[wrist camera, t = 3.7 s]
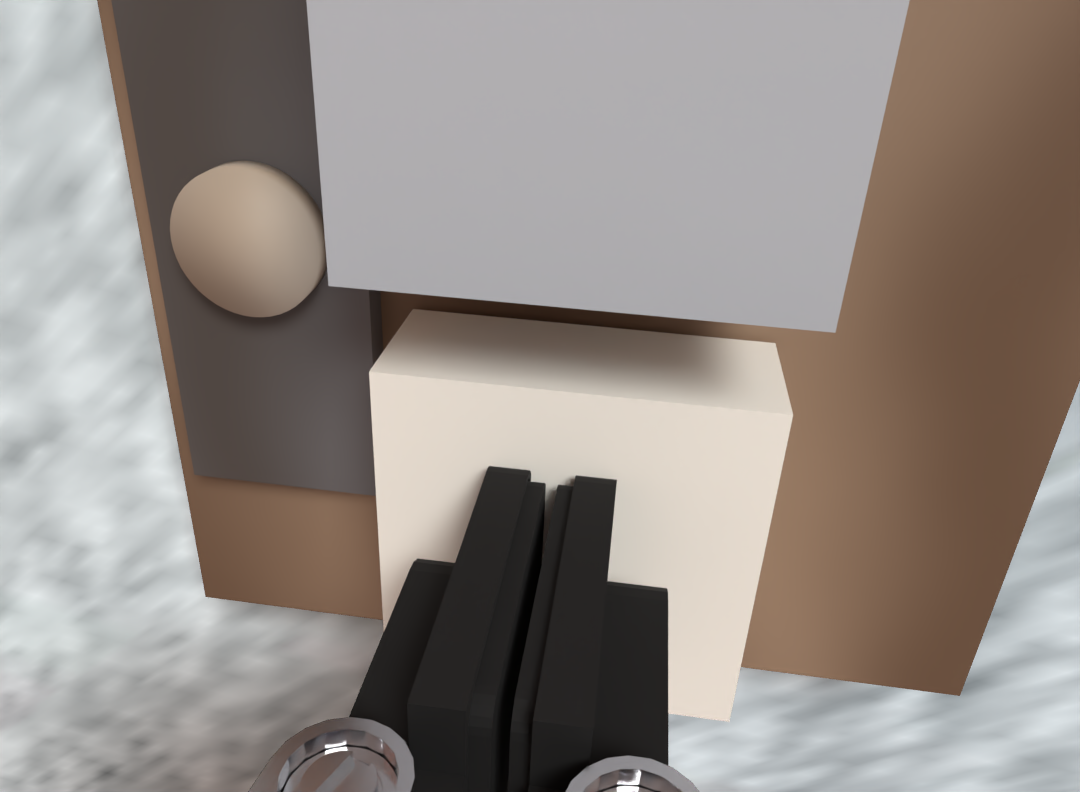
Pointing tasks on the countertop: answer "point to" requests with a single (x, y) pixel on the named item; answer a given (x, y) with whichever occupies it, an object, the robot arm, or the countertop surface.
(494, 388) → the cream key
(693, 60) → the grey key
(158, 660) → the countertop surface
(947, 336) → the keypad board
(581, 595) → the robot arm
